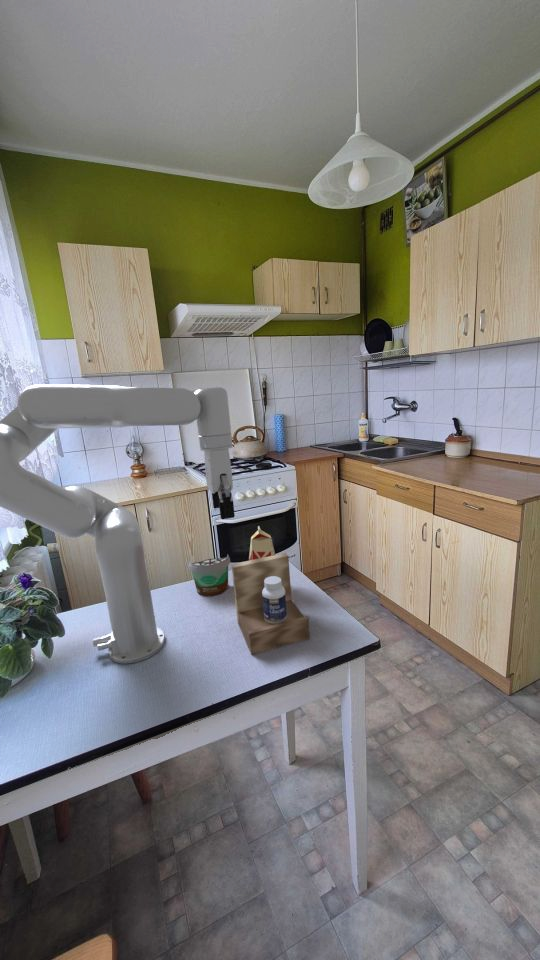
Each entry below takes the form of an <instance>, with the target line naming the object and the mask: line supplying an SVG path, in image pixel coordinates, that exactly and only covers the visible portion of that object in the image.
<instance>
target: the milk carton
mask: <svg viewBox="0 0 540 960" xmlns="http://www.w3.org/2000/svg"><path fill="white" fill-rule="evenodd" d="M248 555H249V556H248V561H250V560H255V559H259V558H264V557H269V556H274V555H276V553H275V548H274V544H273V540H272V537H271V535H270V534H268V533H267V532H265V531H263V530H262V529H261V527H260V525H258V526H257V530H256V532H255V533H254V534H253V535H252V536H251V537H250V547H249V554H248Z"/></svg>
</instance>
